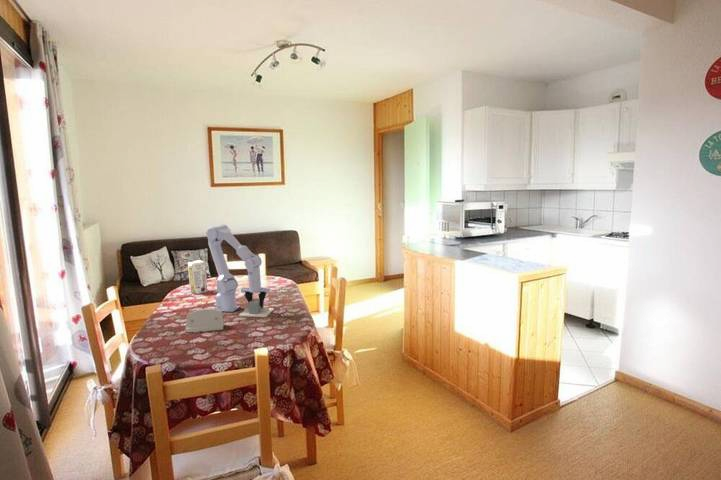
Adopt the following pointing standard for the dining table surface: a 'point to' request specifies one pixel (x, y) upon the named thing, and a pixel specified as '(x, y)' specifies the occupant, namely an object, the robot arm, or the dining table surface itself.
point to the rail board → (262, 313)
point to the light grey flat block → (204, 320)
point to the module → (254, 306)
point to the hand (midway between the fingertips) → (256, 306)
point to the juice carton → (197, 277)
